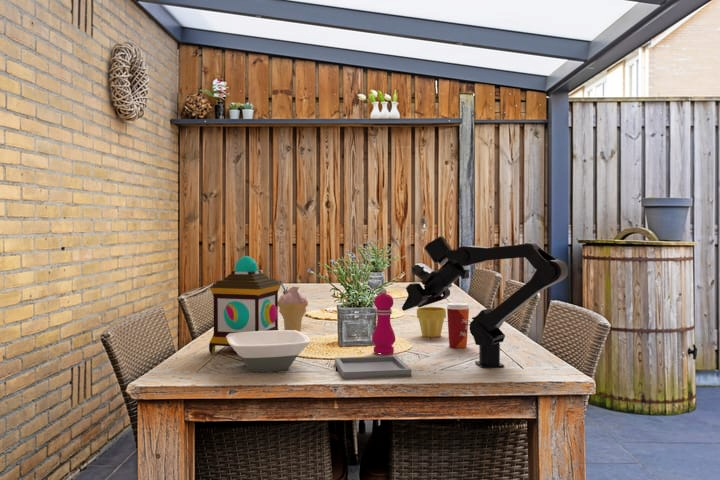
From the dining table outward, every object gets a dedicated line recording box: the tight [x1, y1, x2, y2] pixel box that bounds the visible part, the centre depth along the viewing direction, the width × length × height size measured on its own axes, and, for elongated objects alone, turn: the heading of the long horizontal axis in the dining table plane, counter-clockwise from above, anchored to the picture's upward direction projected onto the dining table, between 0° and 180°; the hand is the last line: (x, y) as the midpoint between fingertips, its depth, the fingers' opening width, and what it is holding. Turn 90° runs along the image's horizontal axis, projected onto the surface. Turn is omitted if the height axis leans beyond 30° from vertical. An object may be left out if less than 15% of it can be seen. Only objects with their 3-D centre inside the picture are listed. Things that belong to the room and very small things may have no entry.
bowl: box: [226, 329, 311, 373], centre depth 177 cm, size 22×23×8 cm
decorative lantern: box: [208, 255, 282, 355], centre depth 200 cm, size 20×20×30 cm
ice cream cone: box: [278, 280, 309, 332], centre depth 226 cm, size 11×11×20 cm
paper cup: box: [445, 302, 471, 349], centre depth 207 cm, size 8×8×14 cm
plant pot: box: [416, 306, 447, 338], centre depth 227 cm, size 10×10×10 cm
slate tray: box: [334, 355, 413, 380], centre depth 174 cm, size 18×18×2 cm
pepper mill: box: [371, 288, 396, 355], centre depth 196 cm, size 7×7×20 cm
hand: (410, 307), depth 194 cm, fingers open, 9 cm apart
